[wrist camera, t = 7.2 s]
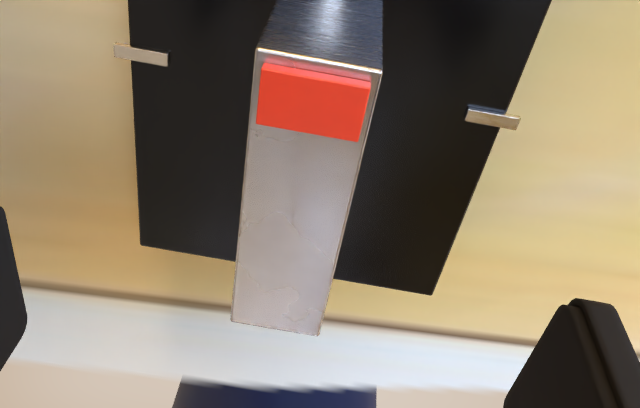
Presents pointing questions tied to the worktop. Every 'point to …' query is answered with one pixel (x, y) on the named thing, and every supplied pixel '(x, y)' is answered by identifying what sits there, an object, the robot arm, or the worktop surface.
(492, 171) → the worktop surface
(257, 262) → the brushed steel box
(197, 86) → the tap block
